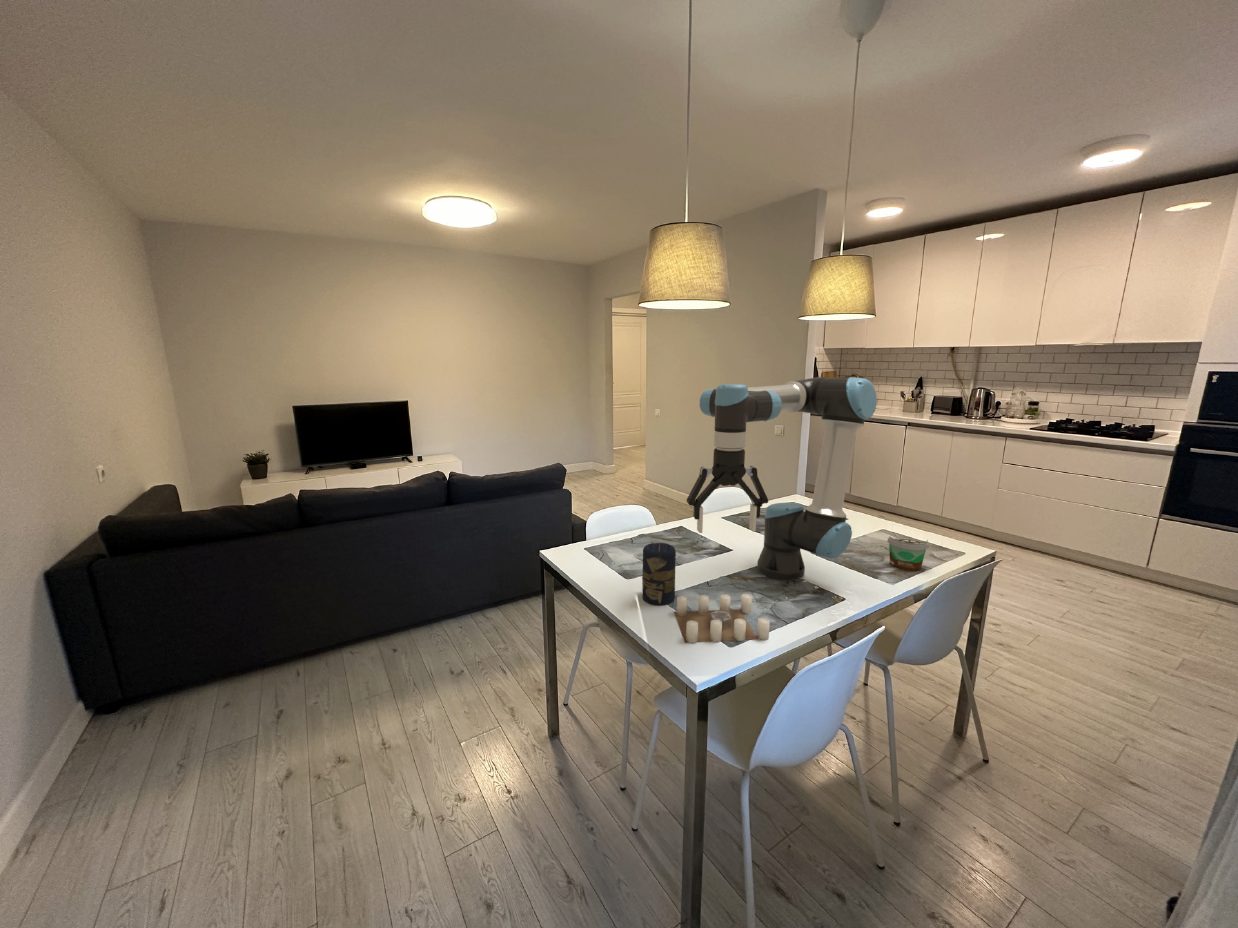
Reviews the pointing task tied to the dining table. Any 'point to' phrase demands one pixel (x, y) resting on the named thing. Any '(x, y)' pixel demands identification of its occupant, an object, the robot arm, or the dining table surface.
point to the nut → (721, 618)
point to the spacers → (717, 624)
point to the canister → (658, 574)
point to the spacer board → (705, 626)
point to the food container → (907, 553)
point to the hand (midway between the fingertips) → (726, 530)
